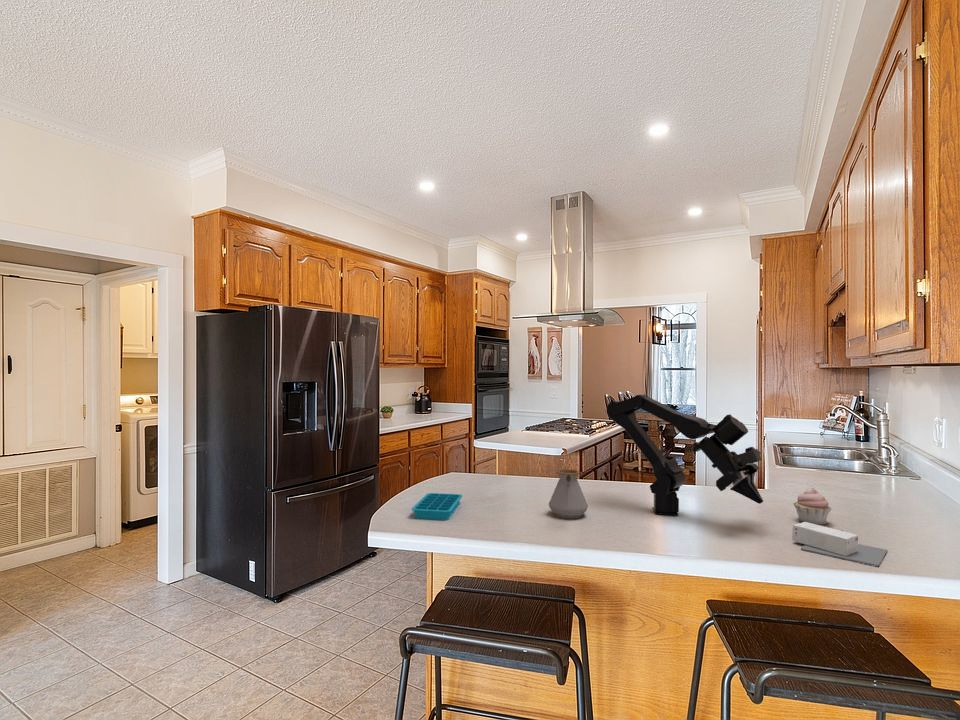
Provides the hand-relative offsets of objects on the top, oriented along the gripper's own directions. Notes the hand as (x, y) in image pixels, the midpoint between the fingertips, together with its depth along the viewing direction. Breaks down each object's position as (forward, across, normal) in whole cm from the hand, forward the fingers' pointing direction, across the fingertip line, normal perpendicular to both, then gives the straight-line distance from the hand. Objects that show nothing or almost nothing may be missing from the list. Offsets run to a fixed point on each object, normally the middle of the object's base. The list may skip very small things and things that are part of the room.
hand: (761, 502), depth 138 cm
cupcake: (+11, +21, +1) cm, 24 cm away
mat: (+18, 0, -8) cm, 20 cm away
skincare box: (+10, 0, -2) cm, 10 cm away
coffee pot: (-24, -27, +37) cm, 52 cm away
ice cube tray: (-46, -48, +61) cm, 90 cm away
